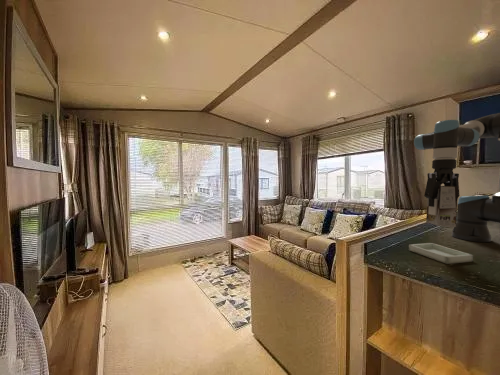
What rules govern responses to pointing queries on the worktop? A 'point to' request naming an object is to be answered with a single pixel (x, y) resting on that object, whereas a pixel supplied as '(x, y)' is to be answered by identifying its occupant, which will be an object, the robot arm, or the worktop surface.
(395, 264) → the worktop surface
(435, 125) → the robot arm
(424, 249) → the tray
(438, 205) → the coffee box
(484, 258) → the worktop surface
